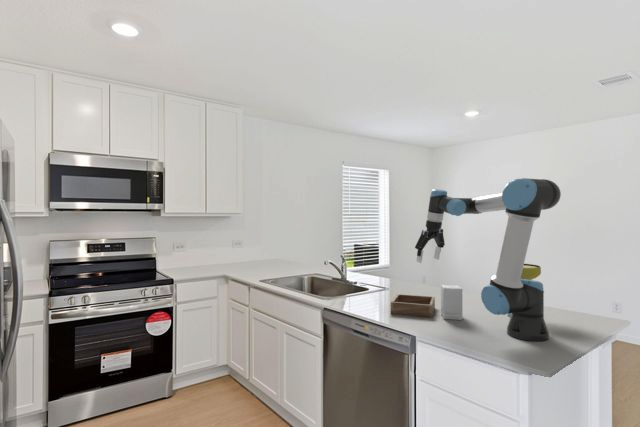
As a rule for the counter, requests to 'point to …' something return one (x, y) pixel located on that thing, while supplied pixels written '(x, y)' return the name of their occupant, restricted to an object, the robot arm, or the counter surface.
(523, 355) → the counter surface
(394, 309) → the walnut box
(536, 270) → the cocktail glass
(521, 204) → the robot arm
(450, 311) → the supplement box
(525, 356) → the counter surface
